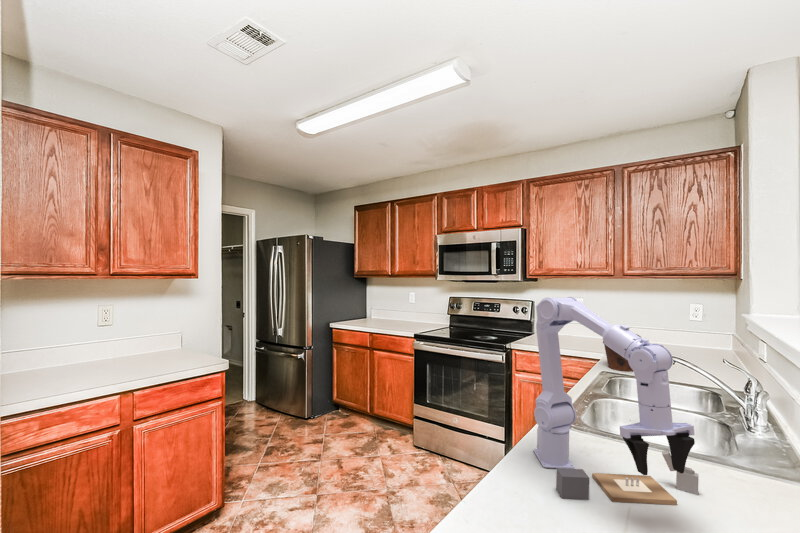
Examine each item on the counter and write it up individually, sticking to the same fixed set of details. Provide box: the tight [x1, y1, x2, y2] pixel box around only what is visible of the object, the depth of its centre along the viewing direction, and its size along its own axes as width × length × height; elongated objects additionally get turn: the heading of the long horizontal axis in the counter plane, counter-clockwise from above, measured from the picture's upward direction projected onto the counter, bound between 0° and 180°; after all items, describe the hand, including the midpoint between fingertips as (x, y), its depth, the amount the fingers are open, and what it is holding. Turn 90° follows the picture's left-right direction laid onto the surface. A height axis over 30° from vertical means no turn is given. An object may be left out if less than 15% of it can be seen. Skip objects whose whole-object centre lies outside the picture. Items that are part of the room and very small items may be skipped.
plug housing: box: [555, 468, 590, 501], centre depth 89 cm, size 4×6×5 cm, turn 87°
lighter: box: [661, 450, 700, 496], centre depth 92 cm, size 7×2×8 cm, turn 53°
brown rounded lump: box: [602, 333, 642, 372], centre depth 201 cm, size 18×20×18 cm
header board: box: [591, 472, 678, 506], centre depth 91 cm, size 10×14×3 cm
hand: (660, 472), depth 79 cm, fingers open, 7 cm apart
